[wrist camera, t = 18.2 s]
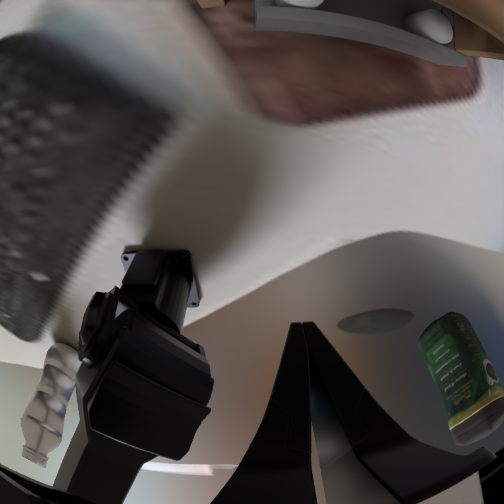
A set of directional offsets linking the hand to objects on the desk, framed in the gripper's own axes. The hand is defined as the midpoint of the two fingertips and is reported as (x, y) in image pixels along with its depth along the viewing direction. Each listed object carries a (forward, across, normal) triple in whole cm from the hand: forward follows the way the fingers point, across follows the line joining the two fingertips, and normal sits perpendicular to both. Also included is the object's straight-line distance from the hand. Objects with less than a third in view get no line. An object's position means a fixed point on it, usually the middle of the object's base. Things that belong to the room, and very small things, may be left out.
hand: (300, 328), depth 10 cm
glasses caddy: (+13, -6, -17) cm, 22 cm away
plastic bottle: (+13, +30, +23) cm, 40 cm away
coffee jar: (+13, -26, +20) cm, 35 cm away
